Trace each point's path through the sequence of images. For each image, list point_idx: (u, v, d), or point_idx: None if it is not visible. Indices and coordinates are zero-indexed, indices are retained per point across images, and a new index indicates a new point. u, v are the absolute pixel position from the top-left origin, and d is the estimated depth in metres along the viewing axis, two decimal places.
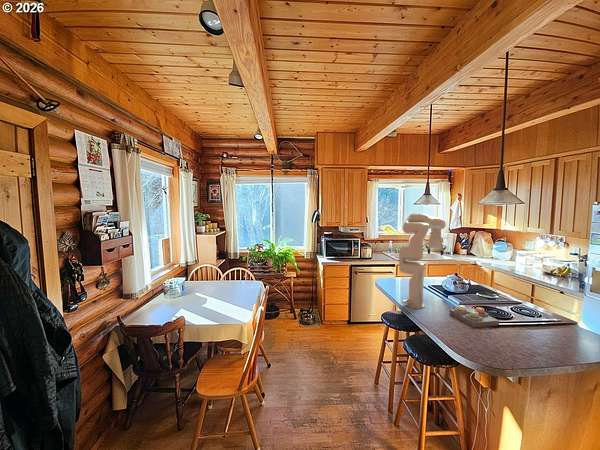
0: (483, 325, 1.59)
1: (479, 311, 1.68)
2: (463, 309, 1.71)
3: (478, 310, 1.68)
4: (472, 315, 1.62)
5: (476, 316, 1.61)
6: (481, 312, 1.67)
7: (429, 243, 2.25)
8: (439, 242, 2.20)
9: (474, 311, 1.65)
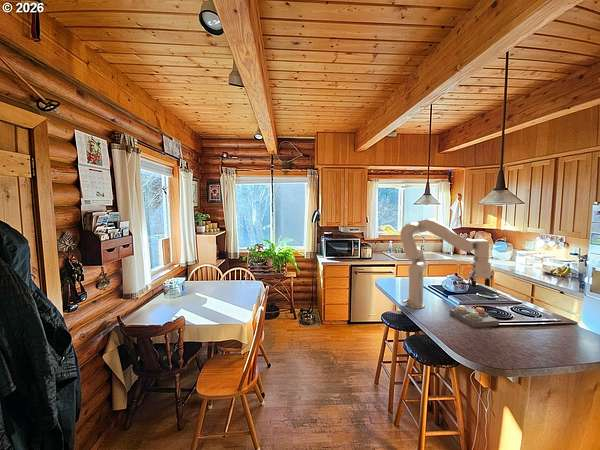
0: (483, 325, 1.59)
1: (479, 311, 1.68)
2: (463, 309, 1.71)
3: (478, 310, 1.68)
4: (472, 315, 1.62)
5: (476, 316, 1.61)
6: (481, 312, 1.67)
7: (478, 273, 1.66)
8: (489, 270, 1.67)
9: (474, 311, 1.65)
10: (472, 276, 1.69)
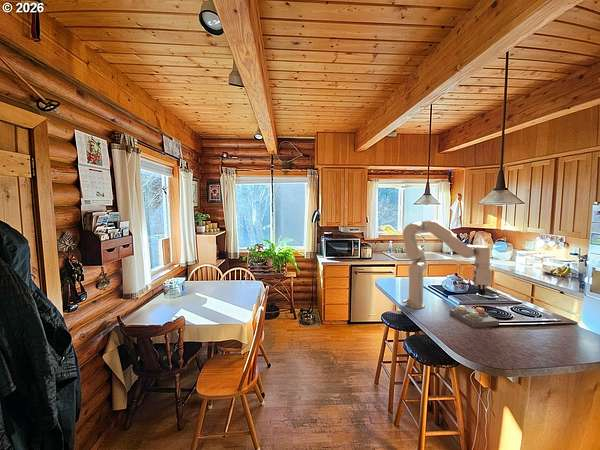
0: (483, 325, 1.59)
1: (479, 311, 1.68)
2: (463, 309, 1.71)
3: (478, 310, 1.68)
4: (472, 315, 1.62)
5: (476, 316, 1.61)
6: (481, 312, 1.67)
7: (479, 279, 1.65)
8: (490, 276, 1.66)
9: (474, 311, 1.65)
10: None
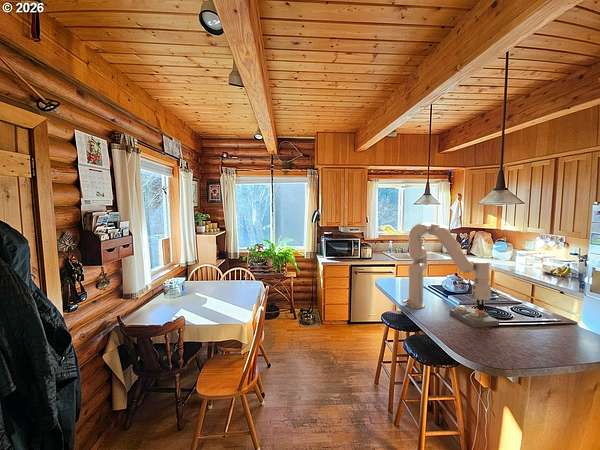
0: (483, 325, 1.59)
1: (479, 312, 1.68)
2: (463, 309, 1.71)
3: (478, 311, 1.68)
4: (472, 315, 1.62)
5: (476, 316, 1.61)
6: (481, 313, 1.67)
7: (478, 294, 1.65)
8: (489, 291, 1.66)
9: (474, 311, 1.65)
10: None
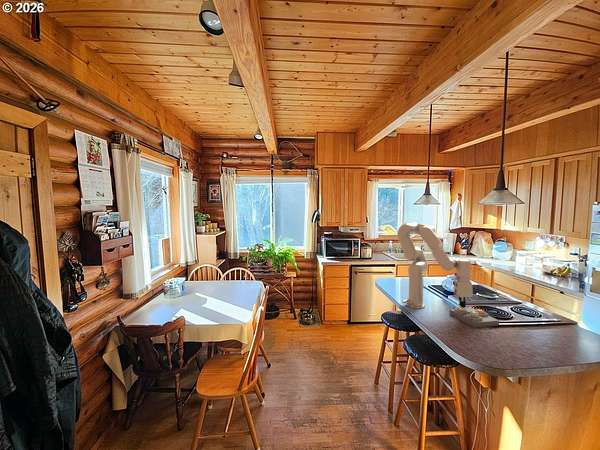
0: (483, 325, 1.59)
1: (479, 313, 1.68)
2: (463, 309, 1.71)
3: (478, 312, 1.68)
4: (472, 315, 1.62)
5: (476, 316, 1.61)
6: None
7: (460, 292, 1.69)
8: (471, 289, 1.70)
9: (474, 311, 1.65)
10: (458, 296, 1.73)
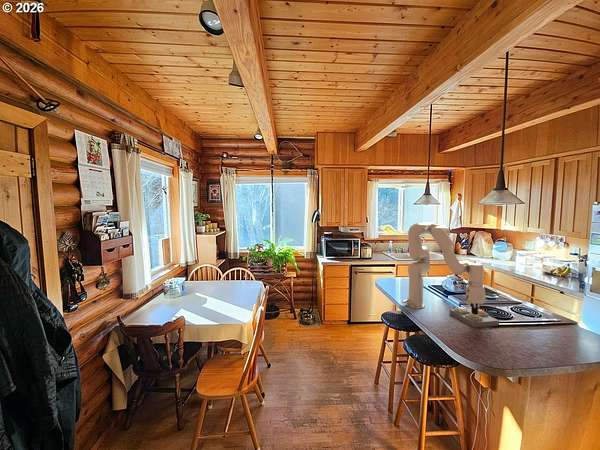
0: (483, 325, 1.59)
1: (479, 313, 1.68)
2: (463, 311, 1.71)
3: (478, 312, 1.68)
4: (472, 316, 1.62)
5: (476, 317, 1.61)
6: None
7: (472, 298, 1.59)
8: (484, 295, 1.60)
9: None
10: None
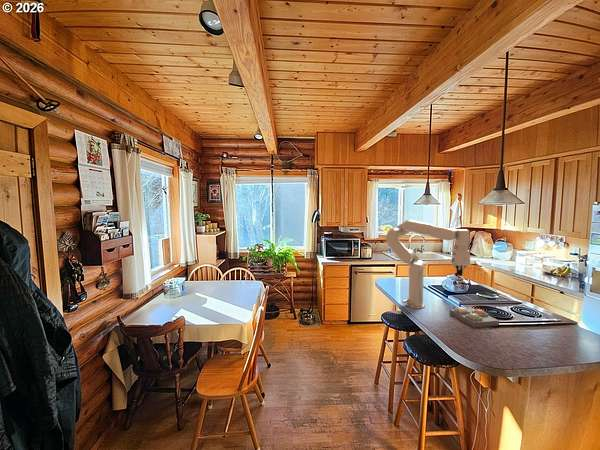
0: (483, 325, 1.59)
1: (479, 313, 1.68)
2: (463, 311, 1.71)
3: (478, 312, 1.68)
4: (472, 317, 1.62)
5: None
6: None
7: (457, 260, 1.75)
8: (468, 258, 1.75)
9: (474, 313, 1.65)
10: None
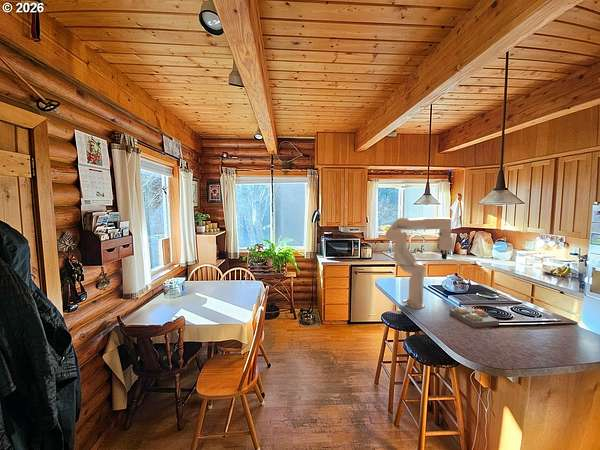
0: (483, 325, 1.59)
1: (479, 313, 1.68)
2: (463, 311, 1.71)
3: (478, 312, 1.68)
4: (472, 317, 1.62)
5: None
6: None
7: (441, 245, 1.96)
8: (451, 243, 1.97)
9: (474, 313, 1.65)
10: (440, 250, 2.00)
